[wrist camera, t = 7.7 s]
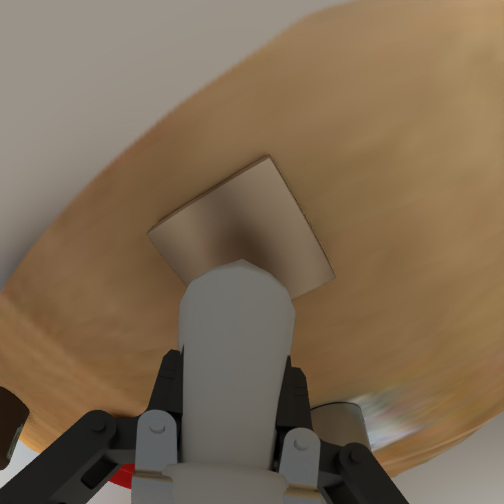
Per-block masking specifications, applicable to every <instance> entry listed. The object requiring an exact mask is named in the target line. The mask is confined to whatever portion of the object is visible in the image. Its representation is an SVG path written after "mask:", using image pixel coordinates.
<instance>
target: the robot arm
mask: <svg viewBox="0 0 504 504" xmlns="http://www.w3.org/2000/svg"><path fill="white" fill-rule="evenodd" d="M183 369H184V344H183V348H182V352H181V353H180V351H177V350H172V349H171V350H170V351H169V352H168V353H167V354H166V355H165V356H164V357H163V360H162V363H161V366H160V369H159V372H158V377H157V379H156V382H155V385H154V389H153V392H152V395H151V398H150V402H149V405H148V407H147V409H146V410H145V412H144V413H142V414H141V415H139V416H137V417H134V418H113V417H112V416H111V415H110V414H109V413H107V412H105V411H102V410H93V411H90V412H88V413H86V414H85V415H84V416H83V417H82V418H80V419H79V420H78V421H77V422H76V423H75V424H74V425H73V426H71V427H70V428H69V429H68V430H67V431H66V432H65V433H63V434H62V435H61V436H60V437H59V438H58V439H57V440H56V441H54V442H53V443H52V444H51V445H50V446H49V447H48V448H46V449H45V450H44V451H43V452H42V453H41V454H40V455H39V456H37V457H36V458H35V459H34V460H33V461H32V462H30V463H29V464H28V465H27V466H26V467H25V468H24V469H22V470H21V471H20V472H19V473H18V474H17V475H16V476H14V477H13V478H12V479H11V480H10V481H9V482H7V483H6V484H5V485H4V486H3V487H2V488H1V489H0V504H86V503H87V502H88V501H89V500H90V499H91V498H92V497H93V496H94V495H95V494H96V493H97V492H98V491H99V490H100V489H101V488H102V487H103V486H104V484H106V483H107V482H108V481H109V480H110V479H111V478H112V476H113V475H114V474H115V473H116V472H117V471H118V470H119V469H120V468H121V467H122V466H123V465H124V464H131V463H135V471H134V472H133V475H132V492H131V497H132V498H131V501H132V502H131V504H174V502H173V495H172V490H173V486H174V482H173V480H172V478H171V477H169V476H167V475H164V474H162V472H163V470H164V469H165V467H166V466H167V464H177V463H178V449H179V436H180V429H181V421H182V416H183ZM364 422H365V421H364V418H363V415H362V411H361V409H360V408H359V407H358V406H356V405H354V404H349V403H336V404H329V405H325V406H321V407H319V408H316V409H313V410H311V411H310V404H309V398H308V389H307V382H306V377H305V375H304V374H303V372H302V370H301V369H300V368H296V367H291V358H290V355H288V356H287V360H286V365H285V370H284V375H283V380H282V385H281V390H280V395H279V399H278V406H277V414H276V426H275V429H276V430H277V438H276V448H275V460H274V466H273V472H276V473H280V474H282V475H283V476H284V477H285V478H286V480H287V482H288V485H289V487H288V488H287V489H286V491H284V493H283V504H409V503H408V502H407V500H406V499H405V498H404V496H403V495H402V493H401V492H400V491H399V490H398V488H397V487H396V486H395V484H394V483H393V481H392V480H391V479H390V477H389V476H388V475H387V473H386V472H385V471H384V469H383V468H382V467H381V465H380V464H379V463H378V461H377V460H376V458H375V457H374V456H373V454H372V452H371V447H370V443H369V439H368V435H367V431H366V427H365V423H364Z"/></svg>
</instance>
